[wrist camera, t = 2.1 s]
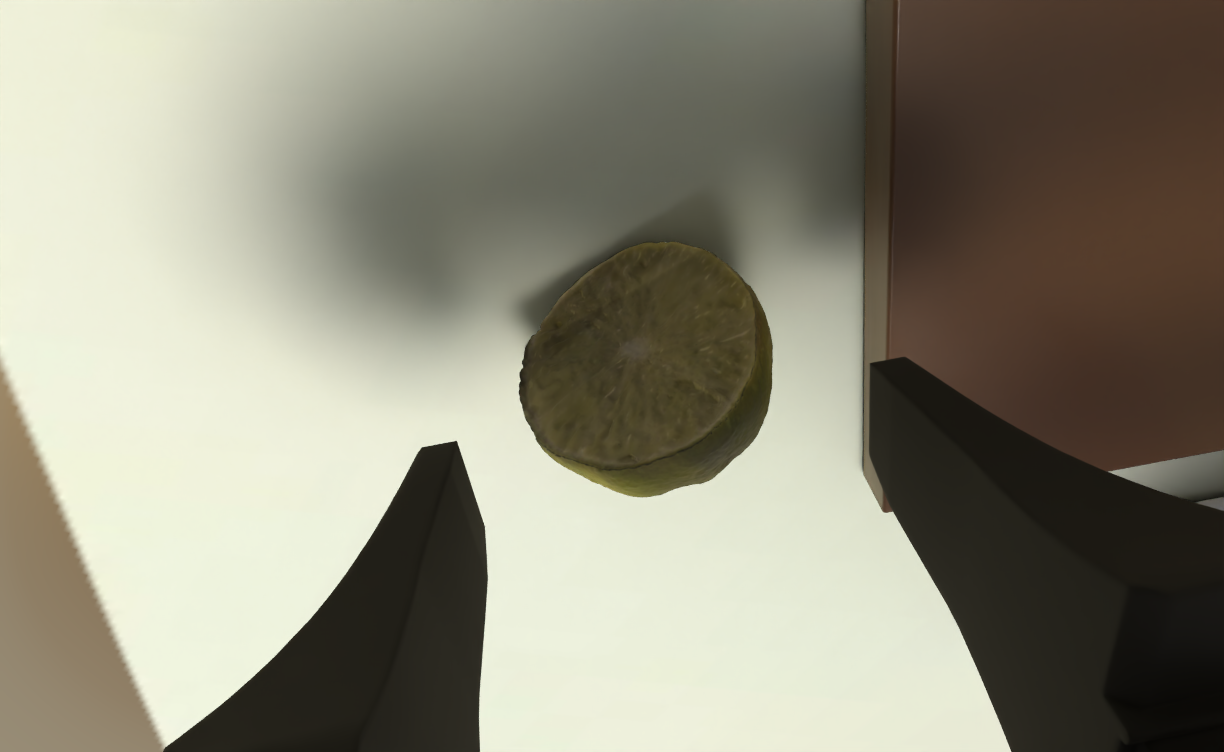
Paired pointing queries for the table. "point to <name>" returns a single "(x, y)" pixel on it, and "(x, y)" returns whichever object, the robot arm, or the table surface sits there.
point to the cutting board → (1052, 216)
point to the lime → (650, 370)
